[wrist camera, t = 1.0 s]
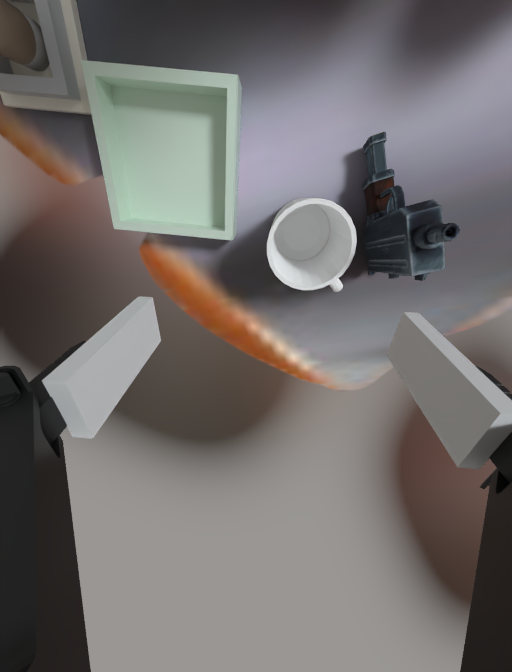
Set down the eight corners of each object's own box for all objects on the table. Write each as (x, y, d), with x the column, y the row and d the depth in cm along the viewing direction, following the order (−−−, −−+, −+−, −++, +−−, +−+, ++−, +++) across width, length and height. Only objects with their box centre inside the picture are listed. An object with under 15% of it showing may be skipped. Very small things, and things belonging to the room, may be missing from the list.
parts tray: (103, 74, 27) (80, 59, 24) (242, 87, 27) (237, 74, 24) (128, 224, 35) (113, 228, 32) (236, 235, 35) (232, 240, 32)
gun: (466, 33, 15) (474, 280, 19) (375, 150, 31) (389, 271, 35) (418, 51, 16) (434, 288, 19) (353, 157, 32) (368, 276, 35)
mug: (254, 226, 34) (248, 241, 26) (310, 176, 31) (325, 174, 22) (300, 287, 38) (309, 318, 30) (354, 249, 35) (382, 271, 26)
